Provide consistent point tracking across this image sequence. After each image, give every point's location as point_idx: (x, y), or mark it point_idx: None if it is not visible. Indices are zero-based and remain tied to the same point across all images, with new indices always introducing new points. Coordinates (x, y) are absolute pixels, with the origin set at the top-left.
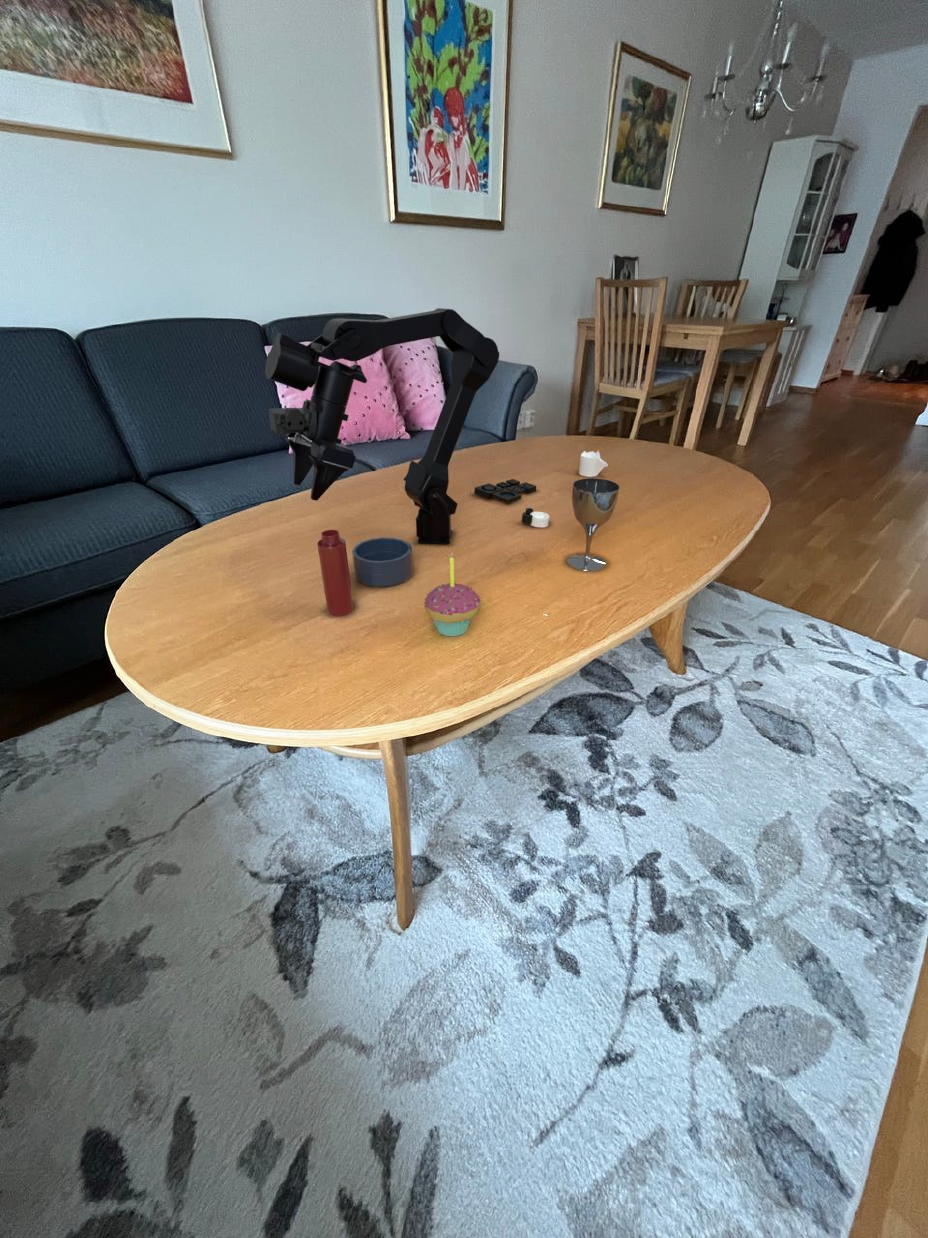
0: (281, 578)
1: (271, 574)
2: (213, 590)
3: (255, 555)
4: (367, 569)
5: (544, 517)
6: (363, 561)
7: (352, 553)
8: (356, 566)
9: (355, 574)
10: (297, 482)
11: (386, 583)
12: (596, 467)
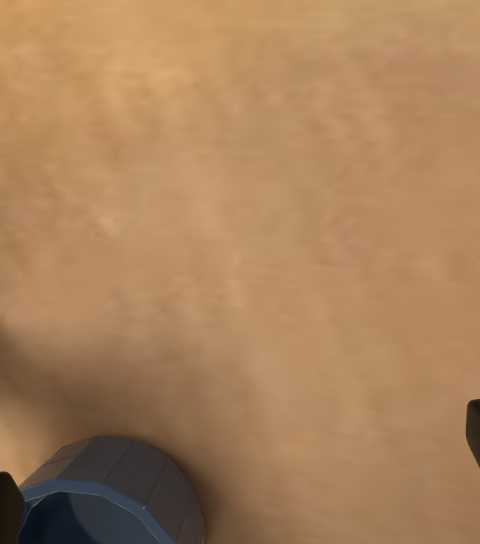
0: (218, 211)
1: (259, 183)
2: (215, 3)
3: (437, 142)
4: None
5: None
6: None
7: (95, 478)
8: (65, 461)
9: (106, 440)
10: (476, 434)
11: None
12: None
